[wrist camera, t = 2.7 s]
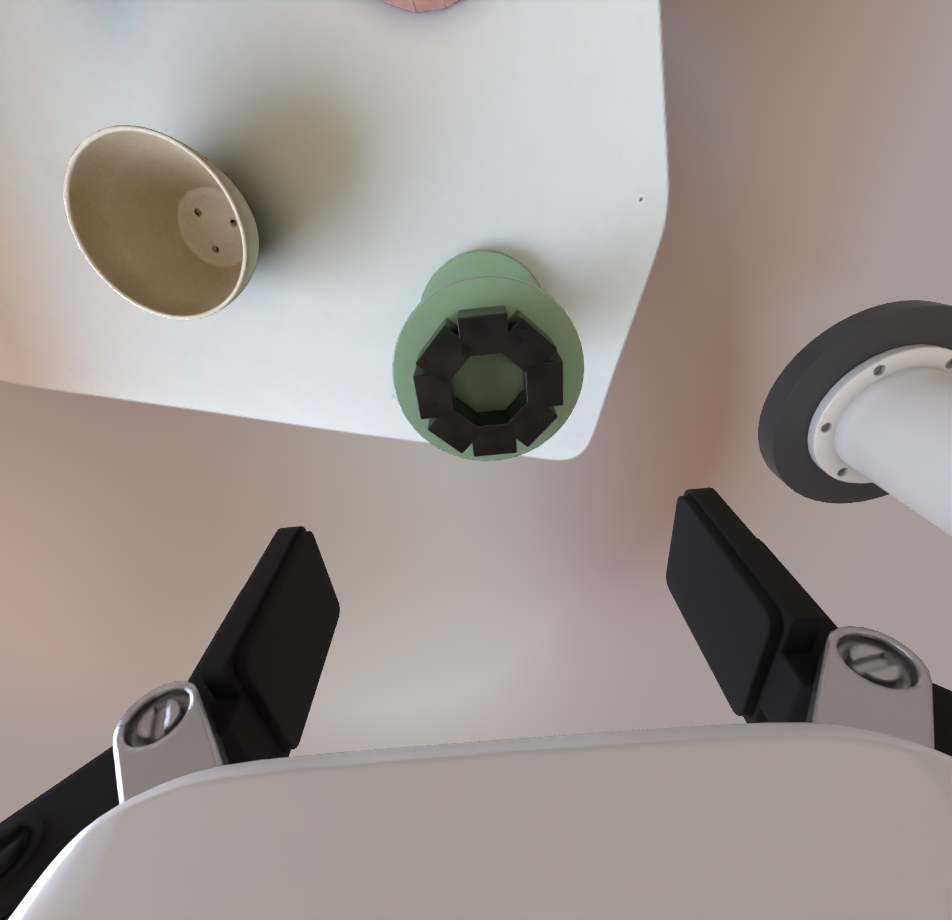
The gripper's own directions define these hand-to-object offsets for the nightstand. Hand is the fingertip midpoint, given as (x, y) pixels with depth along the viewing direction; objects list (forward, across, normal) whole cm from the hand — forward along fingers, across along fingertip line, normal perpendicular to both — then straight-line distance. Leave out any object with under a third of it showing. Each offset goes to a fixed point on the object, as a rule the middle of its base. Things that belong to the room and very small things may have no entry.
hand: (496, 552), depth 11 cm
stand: (+27, 0, 0) cm, 27 cm away
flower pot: (+28, +18, -8) cm, 34 cm away
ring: (+13, 0, 0) cm, 13 cm away
